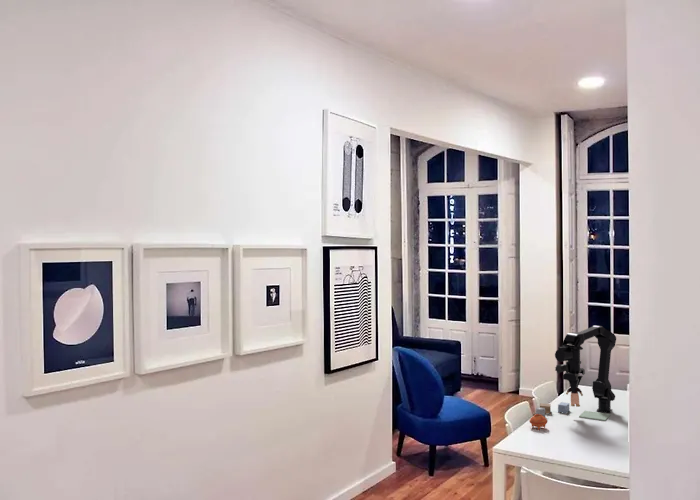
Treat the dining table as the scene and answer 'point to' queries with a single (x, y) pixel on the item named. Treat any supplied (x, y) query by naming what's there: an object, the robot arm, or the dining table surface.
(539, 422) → the pot
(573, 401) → the grandmother figurine
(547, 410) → the walnut block
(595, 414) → the sage mat
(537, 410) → the grey capsule
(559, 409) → the slate-blue block
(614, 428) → the dining table surface
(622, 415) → the dining table surface
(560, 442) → the dining table surface
